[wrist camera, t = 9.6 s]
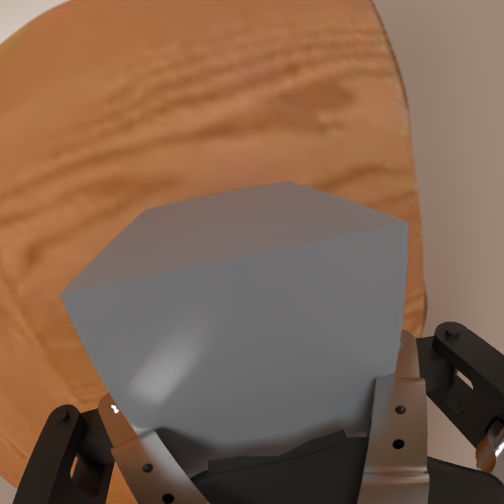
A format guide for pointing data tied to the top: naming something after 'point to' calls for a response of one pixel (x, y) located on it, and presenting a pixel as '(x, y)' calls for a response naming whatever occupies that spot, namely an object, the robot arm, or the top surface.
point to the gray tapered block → (245, 319)
